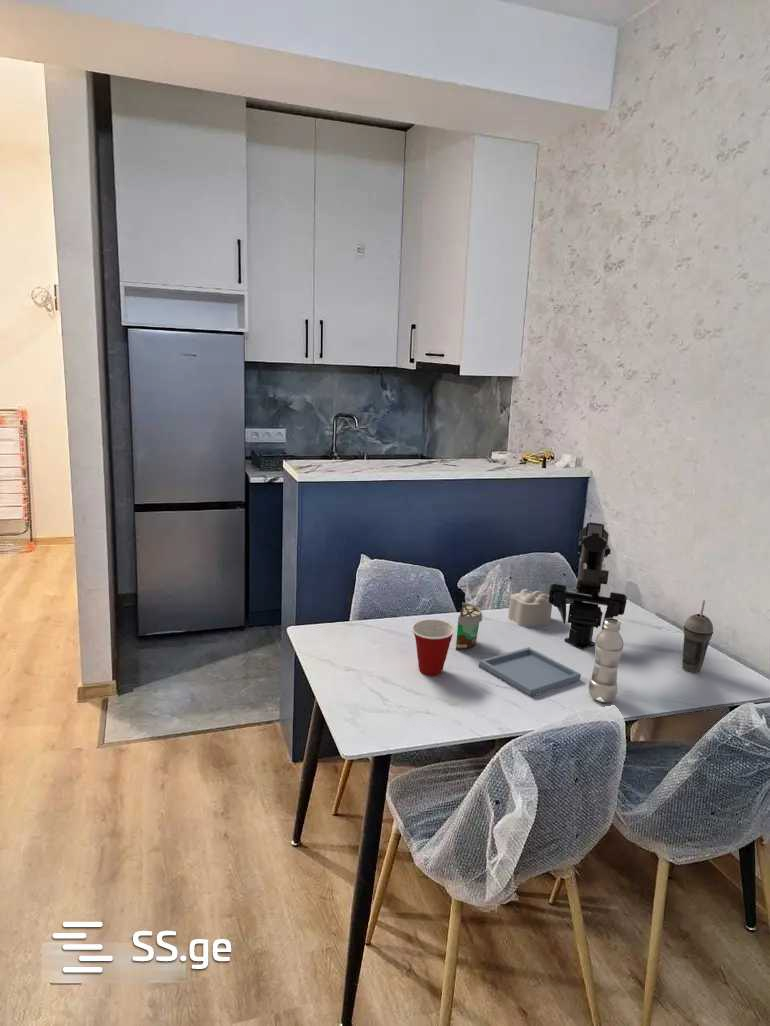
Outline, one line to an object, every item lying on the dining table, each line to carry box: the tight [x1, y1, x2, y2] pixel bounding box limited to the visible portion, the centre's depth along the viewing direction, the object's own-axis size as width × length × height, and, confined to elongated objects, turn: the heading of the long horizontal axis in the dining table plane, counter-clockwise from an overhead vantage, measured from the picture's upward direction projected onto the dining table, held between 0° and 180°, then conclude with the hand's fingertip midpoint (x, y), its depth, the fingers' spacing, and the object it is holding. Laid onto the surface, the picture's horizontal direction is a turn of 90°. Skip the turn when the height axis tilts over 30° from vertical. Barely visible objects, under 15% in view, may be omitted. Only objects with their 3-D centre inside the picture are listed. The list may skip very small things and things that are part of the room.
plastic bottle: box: [588, 617, 624, 703], centre depth 165 cm, size 6×7×20 cm
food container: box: [455, 602, 483, 651], centre depth 192 cm, size 12×6×10 cm, turn 168°
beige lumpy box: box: [507, 588, 553, 628], centre depth 214 cm, size 10×13×9 cm
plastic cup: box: [411, 618, 456, 677], centre depth 174 cm, size 11×11×12 cm
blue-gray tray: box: [478, 646, 582, 698], centre depth 178 cm, size 18×18×2 cm
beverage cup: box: [681, 600, 714, 674], centre depth 184 cm, size 7×7×20 cm
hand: (583, 625), depth 172 cm, fingers open, 9 cm apart
